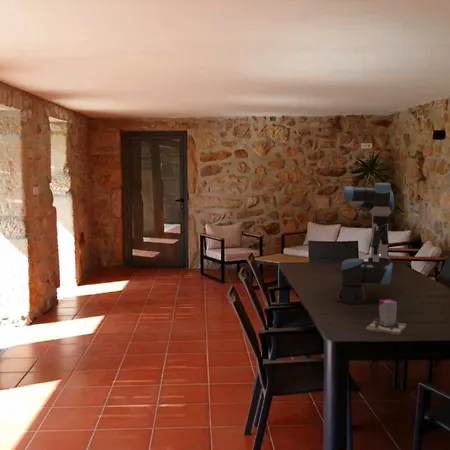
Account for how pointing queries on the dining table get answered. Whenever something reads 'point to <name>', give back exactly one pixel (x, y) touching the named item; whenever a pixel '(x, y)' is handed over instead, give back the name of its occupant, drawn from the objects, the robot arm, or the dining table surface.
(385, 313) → the supplement box
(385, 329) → the plate
